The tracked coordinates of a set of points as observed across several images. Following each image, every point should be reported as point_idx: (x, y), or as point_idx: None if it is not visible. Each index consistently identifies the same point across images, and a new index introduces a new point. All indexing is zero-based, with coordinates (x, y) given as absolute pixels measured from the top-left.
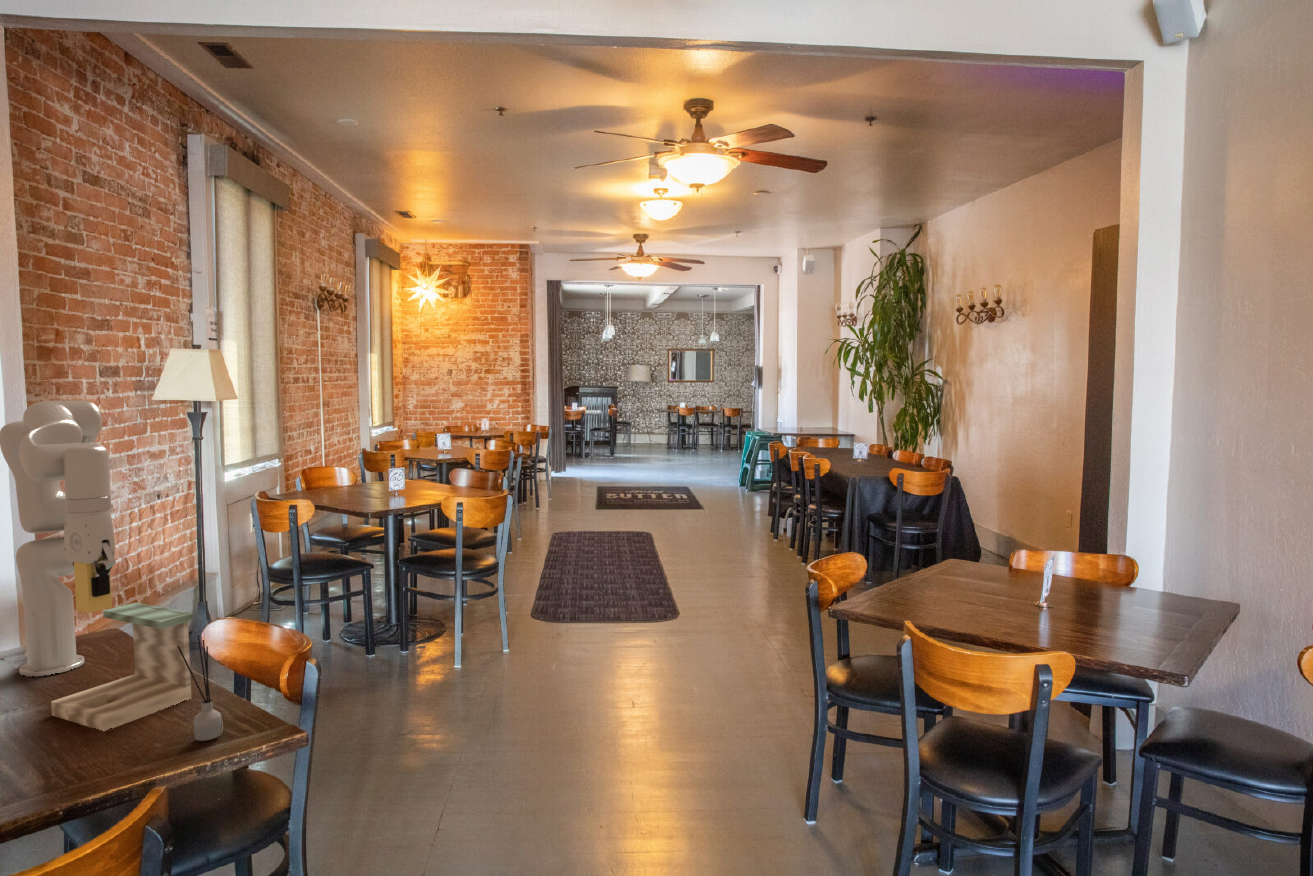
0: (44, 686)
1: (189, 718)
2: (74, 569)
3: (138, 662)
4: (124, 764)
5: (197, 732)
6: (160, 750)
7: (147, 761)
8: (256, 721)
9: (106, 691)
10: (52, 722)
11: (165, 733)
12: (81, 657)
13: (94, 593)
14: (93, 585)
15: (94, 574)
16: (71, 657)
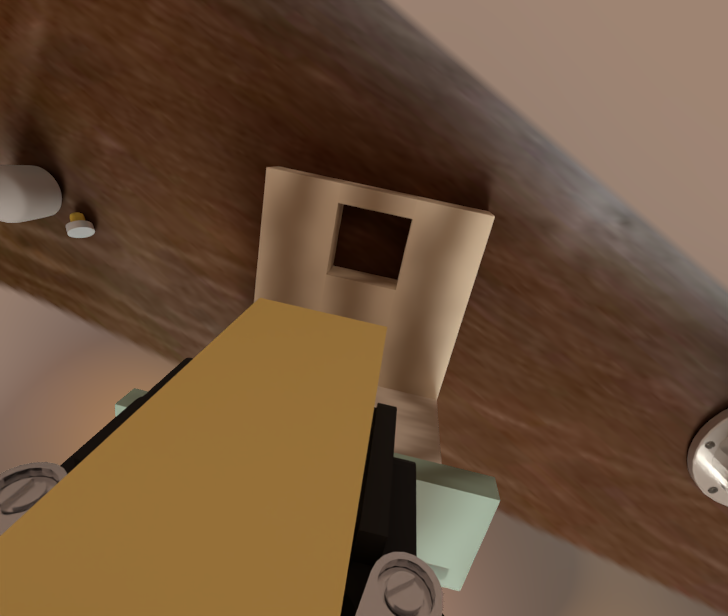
0: (676, 353)
1: (174, 268)
2: (336, 588)
3: (421, 416)
4: (77, 36)
5: (16, 165)
6: (79, 119)
7: (50, 65)
8: (47, 283)
9: (407, 300)
10: (449, 178)
11: (149, 193)
12: (716, 496)
13: (176, 373)
14: (132, 409)
15: (34, 499)
16: (722, 476)
